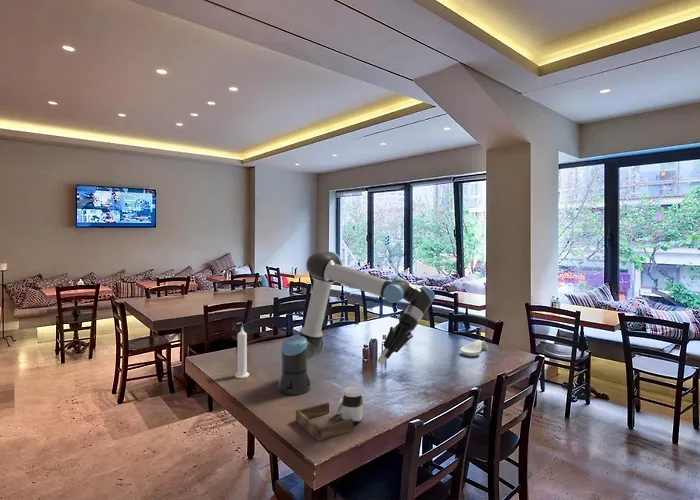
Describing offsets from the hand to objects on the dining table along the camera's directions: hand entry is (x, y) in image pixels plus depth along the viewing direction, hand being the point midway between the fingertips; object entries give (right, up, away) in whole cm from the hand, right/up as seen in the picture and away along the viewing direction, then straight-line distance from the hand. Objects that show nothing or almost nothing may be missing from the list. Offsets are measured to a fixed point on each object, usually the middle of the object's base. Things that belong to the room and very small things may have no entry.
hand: (379, 363), depth 161 cm
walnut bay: (-22, -20, -13) cm, 32 cm away
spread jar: (-13, -20, -7) cm, 25 cm away
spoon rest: (+65, -18, +82) cm, 106 cm away
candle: (-67, -18, +39) cm, 80 cm away
